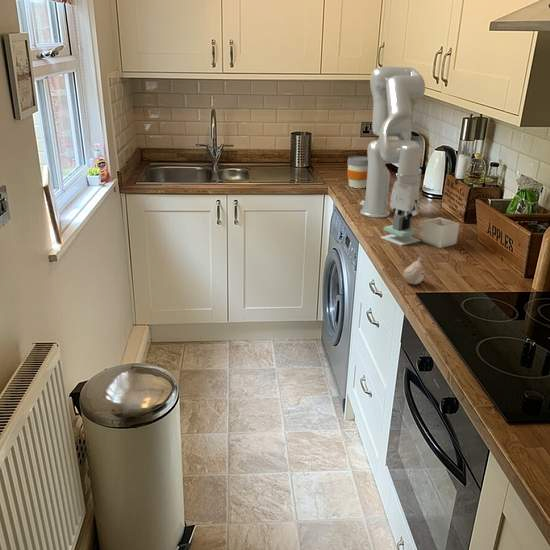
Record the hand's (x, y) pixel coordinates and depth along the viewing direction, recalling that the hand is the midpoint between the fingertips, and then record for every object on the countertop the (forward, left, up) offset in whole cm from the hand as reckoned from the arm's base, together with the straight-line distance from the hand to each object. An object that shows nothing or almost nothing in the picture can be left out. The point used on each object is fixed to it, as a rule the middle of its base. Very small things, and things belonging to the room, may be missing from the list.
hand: (401, 227), depth 209 cm
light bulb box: (-55, +64, -5) cm, 84 cm away
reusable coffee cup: (-72, +45, -5) cm, 85 cm away
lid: (0, 0, -2) cm, 2 cm away
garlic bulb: (+31, -28, -5) cm, 43 cm away
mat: (0, 0, -5) cm, 5 cm away
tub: (+10, +10, -5) cm, 15 cm away
